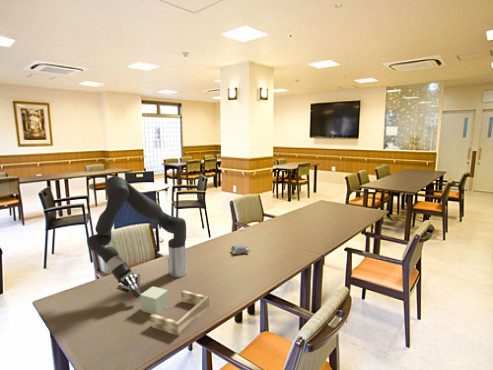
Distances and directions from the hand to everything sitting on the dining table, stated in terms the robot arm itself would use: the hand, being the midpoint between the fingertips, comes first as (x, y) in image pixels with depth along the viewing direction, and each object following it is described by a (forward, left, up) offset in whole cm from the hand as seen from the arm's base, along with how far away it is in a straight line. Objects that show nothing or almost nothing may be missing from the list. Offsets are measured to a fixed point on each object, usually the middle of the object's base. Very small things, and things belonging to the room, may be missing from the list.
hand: (139, 296), depth 138 cm
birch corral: (+24, 0, -4) cm, 24 cm away
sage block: (+9, 0, -4) cm, 10 cm away
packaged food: (+16, +73, -4) cm, 75 cm away
